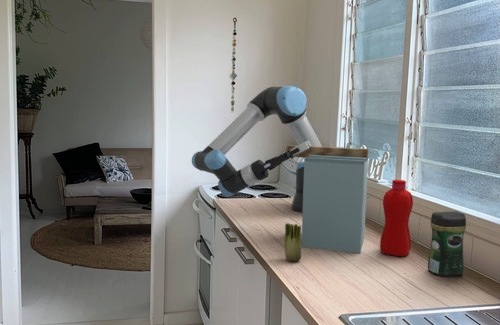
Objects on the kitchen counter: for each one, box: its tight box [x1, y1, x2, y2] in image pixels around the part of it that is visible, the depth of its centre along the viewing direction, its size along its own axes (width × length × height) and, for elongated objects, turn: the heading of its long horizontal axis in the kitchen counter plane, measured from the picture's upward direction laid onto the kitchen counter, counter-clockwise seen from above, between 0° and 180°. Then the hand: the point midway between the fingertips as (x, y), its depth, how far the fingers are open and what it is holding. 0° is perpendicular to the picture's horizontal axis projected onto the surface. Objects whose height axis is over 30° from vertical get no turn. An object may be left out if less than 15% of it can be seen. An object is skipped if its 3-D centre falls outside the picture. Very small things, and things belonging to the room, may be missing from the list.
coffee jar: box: [427, 211, 467, 277], centre depth 139 cm, size 10×8×19 cm
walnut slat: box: [286, 144, 369, 161], centre depth 170 cm, size 29×4×4 cm, turn 72°
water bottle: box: [379, 179, 414, 257], centre depth 157 cm, size 9×11×25 cm
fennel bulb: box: [284, 222, 302, 263], centre depth 147 cm, size 6×5×12 cm
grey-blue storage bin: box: [301, 155, 369, 254], centre depth 166 cm, size 18×20×31 cm
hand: (308, 144), depth 171 cm, fingers closed on walnut slat, 4 cm apart
